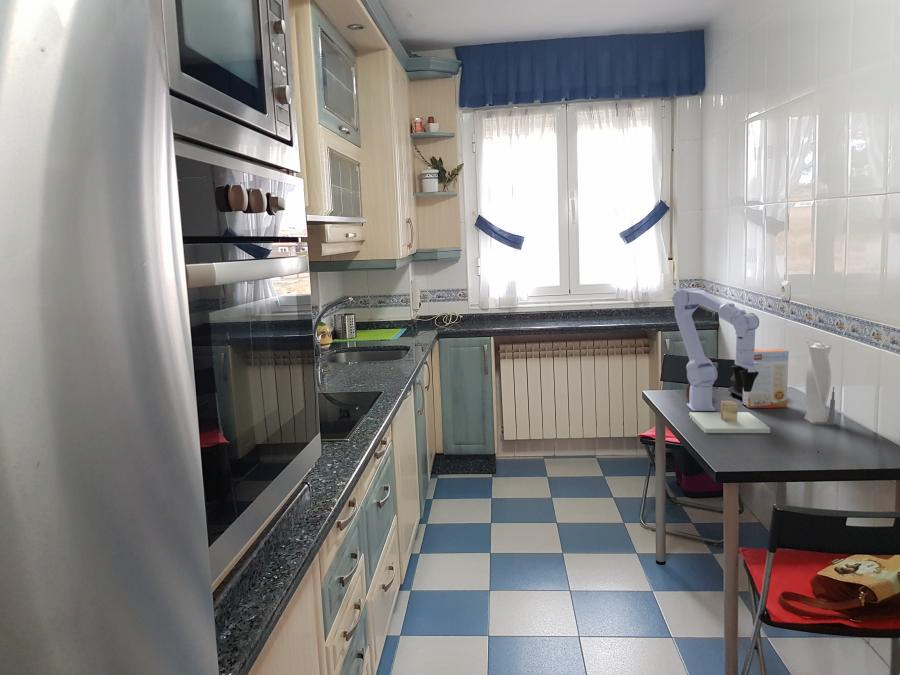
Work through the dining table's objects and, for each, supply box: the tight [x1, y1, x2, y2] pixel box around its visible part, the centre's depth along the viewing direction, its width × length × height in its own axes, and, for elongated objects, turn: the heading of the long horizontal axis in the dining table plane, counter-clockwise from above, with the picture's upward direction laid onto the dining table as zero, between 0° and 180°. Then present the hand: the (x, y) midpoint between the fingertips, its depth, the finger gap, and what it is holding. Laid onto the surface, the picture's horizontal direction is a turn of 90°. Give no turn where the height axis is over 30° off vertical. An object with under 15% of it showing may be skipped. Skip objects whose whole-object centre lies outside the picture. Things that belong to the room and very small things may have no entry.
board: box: [688, 411, 771, 434], centre depth 230 cm, size 20×20×2 cm
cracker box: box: [742, 348, 790, 409], centre depth 251 cm, size 14×6×21 cm, turn 89°
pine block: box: [720, 400, 739, 422], centre depth 230 cm, size 4×4×6 cm
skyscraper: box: [803, 339, 836, 426], centre depth 230 cm, size 8×8×28 cm
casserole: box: [727, 373, 743, 398], centre depth 268 cm, size 25×19×8 cm
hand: (743, 389), depth 235 cm, fingers open, 7 cm apart
